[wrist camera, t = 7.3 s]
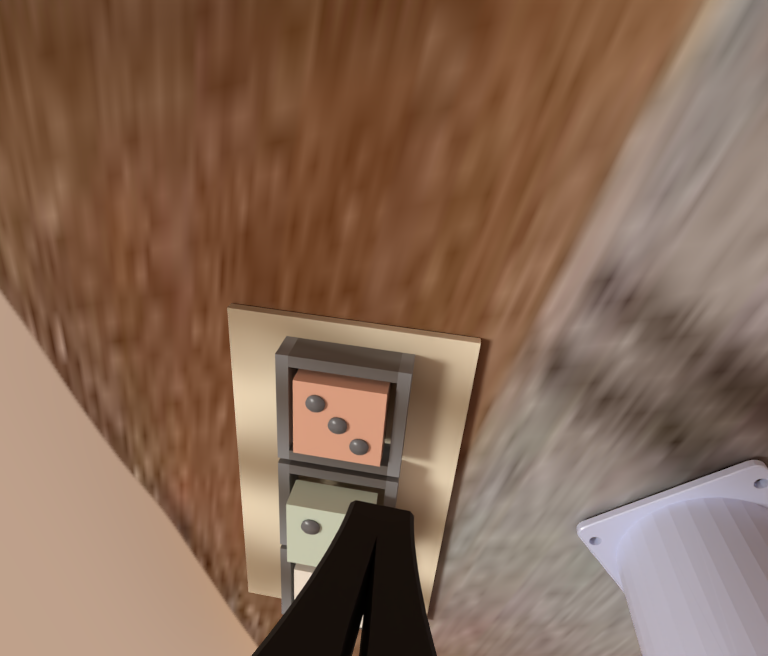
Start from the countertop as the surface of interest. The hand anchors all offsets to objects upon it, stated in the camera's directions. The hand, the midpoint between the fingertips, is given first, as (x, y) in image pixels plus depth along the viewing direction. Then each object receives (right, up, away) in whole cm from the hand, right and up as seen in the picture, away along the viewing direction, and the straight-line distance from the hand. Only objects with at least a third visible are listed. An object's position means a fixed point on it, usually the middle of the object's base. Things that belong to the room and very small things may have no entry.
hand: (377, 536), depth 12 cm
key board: (-2, -3, +13) cm, 14 cm away
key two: (-2, -4, +12) cm, 12 cm away
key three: (-1, +2, +10) cm, 10 cm away
